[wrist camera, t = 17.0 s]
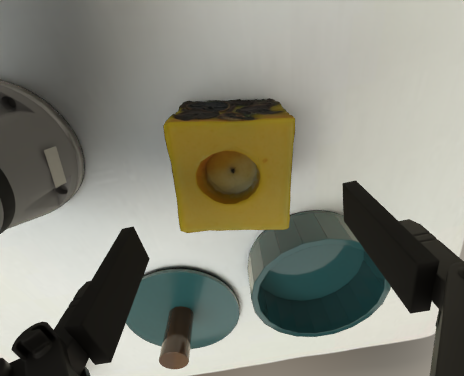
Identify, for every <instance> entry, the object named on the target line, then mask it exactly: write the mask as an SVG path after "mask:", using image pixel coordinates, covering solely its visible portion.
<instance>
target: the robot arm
mask: <svg viewBox="0 0 464 376" xmlns="http://www.w3.org/2000/svg"><path fill="white" fill-rule="evenodd" d="M83 175H84V158H83V153H82V150H81V147H80V144H79V142H78V140H77V138H76V136H75V134H74V132H73V130H72V129H71V128H70V126H69V125H68V123H67V122H66V121H65V120H64V118H63V117H62V116H61V115H60V114H59V113H58V112H57V111H56V110H55V109H54V108H53V107H52V106H51V105H49V104H48V103H47V102H45V101H44V100H43V99H41V98H40V97H38V96H37V95H35V94H34V93H32V92H30V91H28V90H26V89H24V88H22V87H20V86H17V85H15V84H12V83H8V82H5V81H0V234H1V233H2V232H3V231H5V230H6V229H8V228H11V227H13V226H16V225H19V224H21V223H24V222H27V221H30V220H32V219H35V218H38V217H40V216H43V215H46V214H48V213H51V212H52V211H54V210H56V209H58V208H59V207H61V206H62V205H64V204H65V203H66V202H67V201H68V200H69V199H70V198H71V197H72V196H73V195H74V194H75V193H76V192H77V190H78V189H79V187H80V185H81V183H82V180H83ZM343 211H344V222H345V223H346V225H347V226H348V227H349V229H350V230H351V232H352V233H353V234H354V236H355V237H356V239H357V240H358V241H359V243H360V244H361V246H362V247H363V248H364V250H365V251H366V252H367V254H368V255H369V257H370V258H371V259H372V261H373V262H374V264H375V265H376V266H377V268H378V269H379V271H380V272H381V273H382V275H383V276H384V277H385V279H386V280H387V282H388V283H389V284H390V286H391V287H392V289H393V290H394V291H395V293H396V294H397V296H398V297H399V298H400V300H401V301H402V302H403V304H404V305H405V307H406V308H407V309H408V311H409V312H410V313H416V312H422V311H429V310H430V307H431V302H432V301H433V302H434V304H435V305H436V306H437V307H438V308H439V312H438V317H437V321H436V334H435V341H434V348H433V356H432V363H431V371H430V376H464V262H463V261H462V260H461V259H460V258H459V257H458V256H456V255H455V254H454V253H453V252H452V251H451V250H450V249H448V248H447V247H446V246H445V245H444V244H443V243H441V242H440V241H439V240H437V239H436V237H434V236H433V235H432V234H431V233H429V231H427V230H426V229H425V228H424V227H423V226H422V225H420V224H418V223H416V222H414V221H412V220H409V219H408V220H403V221H398V220H396V219H395V218H394V217H393V216H392V215H391V214H390V213H389V212H388V211H387V210H386V209H385V208H384V207H383V206H382V205H381V204H380V203H379V202H378V201H377V200H376V199H374V198H373V197H372V196H371V195H370V194H369V193H368V192H367V191H366V190H365V189H364V188H363V187H362V186H361V185H360V184H359V183H358V182H357V181H352V182H347V183H343ZM148 261H149V257H148V255H147V253H146V251H145V249H144V247H143V245H142V243H141V241H140V239H139V237H138V235H137V233H136V231H135V229H134V227H129V228H125V229H122V230H121V232H120V233H119V235H118V237H117V239H116V240H115V242H114V244H113V245H112V247H111V249H110V250H109V252H108V254H107V255H106V257H105V259H104V260H103V262H102V264H101V265H100V267H99V269H98V271H97V272H96V274H95V276H94V277H93V279H92V281H88V282H86V283H85V284H84V285H83V286H82V287H81V288H80V289H79V290H78V292H77V294H76V295H75V297H74V298H73V301H72V302H71V303H70V305H69V308H67V310H66V311H65V313H64V314H63V316H62V318H61V319H60V321H59V322H58V324H57V326H56V327H55V329H54V330H53V329H52V328H51V327H50V325H49V324H48V323H47V322H40V323H36V324H35V325H33V326H31V327H29V328H28V329H27V330H25V331H24V332H23V333H22V334H21V335H20V336H19V337H18V338H17V339H16V341H15V342H14V344H13V347H12V351H13V352H14V353H15V354H16V355H18V356H19V357H20V359H18V360H16V361H13V362H11V363H8V362H6V361H5V360H4V359H3V358H0V376H90V373H89V370H88V369H87V368H86V367H85V365H86V363H87V361H88V359H89V358H90V359H91V360H92V362H93V363H94V364H95V365H97V364H103V363H110V362H111V361H112V358H113V356H114V353H115V350H116V347H117V345H118V342H119V339H120V337H121V334H122V331H123V329H124V326H125V323H126V321H127V318H128V315H129V313H130V310H131V307H132V304H133V302H134V299H135V296H136V294H137V291H138V288H139V286H140V283H141V280H142V278H143V275H144V272H145V270H146V267H147V264H148Z"/></svg>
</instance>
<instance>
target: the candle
mask: <svg viewBox="0 0 464 376" xmlns="http://www.w3.org/2000/svg"><path fill="white" fill-rule="evenodd" d="M163 127H164V135H165V141H166V145H167V149H168V154H169V157H170V160H171V165H172V173H173V178H174V185H175V191H176V197H177V205H178V216H179V225H180V229H181V231H183V232H186V233H192V232H200V231H208V230H216V231H222V230H284V229H288V228H289V221H290V187H291V170H292V156H293V142H294V134H295V118H294V117H293V116H292V115H289V113H288V112H286V110H285V109H283V107H282V106H281V104H280V103H279V102H277V101H275V100H273V99H267V100H264V99H262V100H257V99H255V100H240V99H239V100H229V101H217V100H216V101H211V100H210V101H207V102H192V101H187V102H184V103H183V104H182V105H181V106H180V107H179V111H178V112H176V114H173V115H172V116H170V118H169V119H168V120H167V121H166V122H165V124H164V126H163Z"/></svg>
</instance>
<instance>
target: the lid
mask: <svg viewBox="0 0 464 376" xmlns="http://www.w3.org/2000/svg"><path fill="white" fill-rule="evenodd" d="M238 319H239V304H238V300H237V298H236V296H235V294H234V293H233V291H232V290H231V289H230V288H229V287H228V286H227V285H226V284H225V283H223V282H222V281H220V280H219V279H217V278H215V277H213V276H211V275H208V274H206V273H203V272H199V271H195V270H188V269H168V270H162V271H158V272H154V273H151V274H148V275H146V276H144V277H143V278H142V280H141V283H140V286H139V288H138V291H137V294H136V296H135V299H134V302H133V304H132V307H131V310H130V313H129V315H128V318H127V321H126V324H127V325H128V327H129V328H130V329H131V330H132V331H133V332H134V333H135V334H136V335H138V336H139V337H141V338H142V339H144V340H146V341H148V342H150V343H153V344H155V345H158V346H162V348H161V352H160V357H159V362H160V364H161V365H162V366H164V367H166V368H169V369H180V368H183V367H185V366H186V365H187V364H188V362H189V354H190V349H194V348H200V347H205V346H208V345H211V344H214V343H216V342H218V341H220V340H222V339H223V338H225V337H226V336H227V335H228V334H229V333H231V331H232V330H233V329H234V328H235V326H236V324H237V322H238Z"/></svg>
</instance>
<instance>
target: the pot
mask: <svg viewBox="0 0 464 376" xmlns="http://www.w3.org/2000/svg"><path fill="white" fill-rule="evenodd" d="M248 274H249V283H250V292H251V300H252V303H253V307H254V310H255V313H256V314H257V315H258V316H259V318H260V319H261V320H262V321H263V322H264V323H265V324H266V325H268V326H269V327H271V328H273V329H275V330H276V331H278V332H281V333H285V334H289V335H293V336H303V337H317V336H323V335H329V334H335V333H337V332H340V331H343V330H346V329H348V328H351V327H353V326H355V325H357V324H358V323H360V322H362V321H363V320H365V319H367V318H368V317H369V316H371V315H372V314H373V313H374V312H375V311H376V310H377V309H378V308H379V307H380V306H381V305H382V304H383V302H384V300H385V298H386V296H387V295H388V293H389V291H390V288H391V286H390V284H389V283H388V282H387V280H386V279H385V277H384V276H383V275H382V273H381V272H380V271H379V269H378V268H377V266H376V265H375V264H374V262H373V261H372V259H371V258H370V257H369V255H368V254H367V252H366V251H365V250H364V248H363V247H362V246H361V244H360V243H359V241H358V240H357V239H356V237H355V236H354V234H353V233H352V232H351V230H350V229H349V227H348V226H347V225H346V223H345V222H344V216H343V215H340V214H337V213H334V212H328V211H306V212H300V213H297V214H293V215H290V221H289V228H288V229H284V230H265V231H264V232H263V233H262V234H261V235H260V236H259V237H258V238H257V240H256V241H255V243H254V244H253V246H252V248H251V251H250V254H249V259H248Z"/></svg>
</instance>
